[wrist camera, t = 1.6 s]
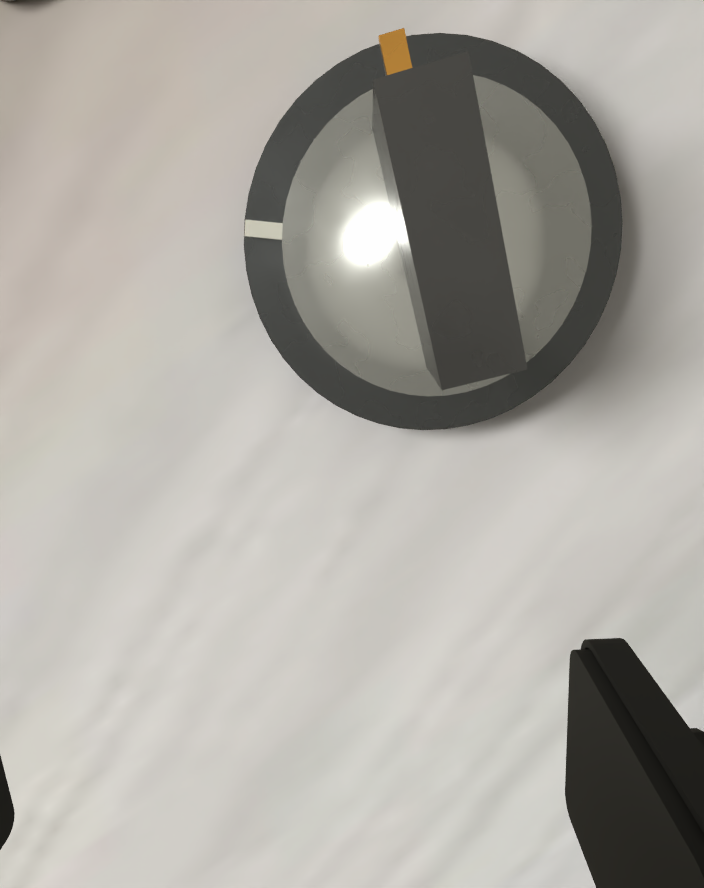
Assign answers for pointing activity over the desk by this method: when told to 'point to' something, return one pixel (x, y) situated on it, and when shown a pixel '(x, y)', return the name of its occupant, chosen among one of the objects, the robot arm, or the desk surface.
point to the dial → (436, 229)
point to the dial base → (270, 207)
